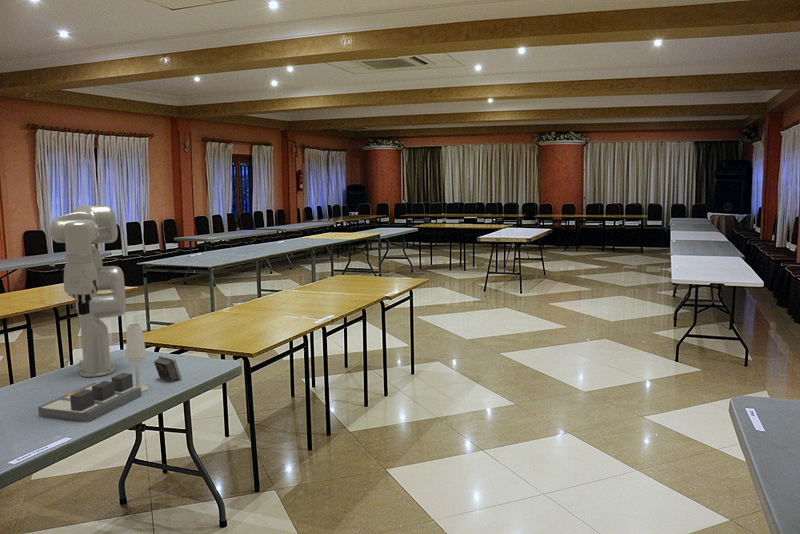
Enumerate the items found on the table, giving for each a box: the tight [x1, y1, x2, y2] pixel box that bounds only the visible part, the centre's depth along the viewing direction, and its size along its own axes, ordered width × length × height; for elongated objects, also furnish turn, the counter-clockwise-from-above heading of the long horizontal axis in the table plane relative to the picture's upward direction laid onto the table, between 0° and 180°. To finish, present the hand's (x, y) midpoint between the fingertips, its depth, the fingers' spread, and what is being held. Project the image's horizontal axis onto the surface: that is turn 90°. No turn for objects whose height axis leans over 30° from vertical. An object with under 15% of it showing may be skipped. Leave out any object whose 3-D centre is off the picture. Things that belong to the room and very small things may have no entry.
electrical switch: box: [153, 354, 182, 383], centre depth 228 cm, size 9×5×9 cm, turn 57°
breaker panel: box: [37, 372, 142, 423], centre depth 202 cm, size 20×25×8 cm
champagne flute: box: [125, 323, 149, 392], centre depth 217 cm, size 7×7×24 cm
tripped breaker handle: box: [92, 380, 115, 400], centre depth 200 cm, size 4×6×4 cm
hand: (84, 313), depth 198 cm, fingers closed
